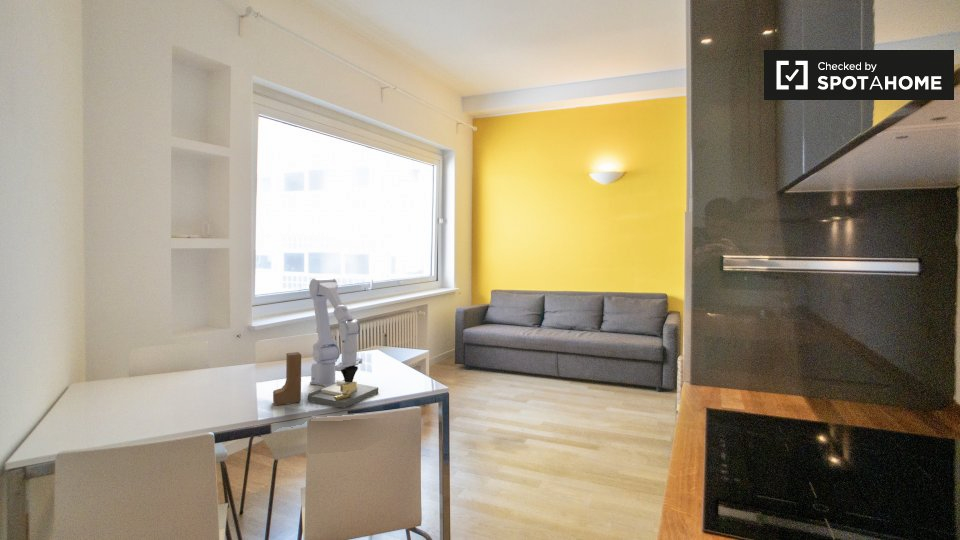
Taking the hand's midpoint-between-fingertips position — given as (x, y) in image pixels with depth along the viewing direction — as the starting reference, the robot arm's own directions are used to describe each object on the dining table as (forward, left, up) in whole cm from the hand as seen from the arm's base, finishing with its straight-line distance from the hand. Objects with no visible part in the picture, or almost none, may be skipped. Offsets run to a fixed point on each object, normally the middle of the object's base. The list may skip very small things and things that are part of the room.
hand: (348, 385), depth 198 cm
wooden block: (-12, -20, -3) cm, 24 cm away
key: (+7, -11, -1) cm, 13 cm away
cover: (0, -6, -1) cm, 6 cm away
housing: (+1, -5, -3) cm, 6 cm away
